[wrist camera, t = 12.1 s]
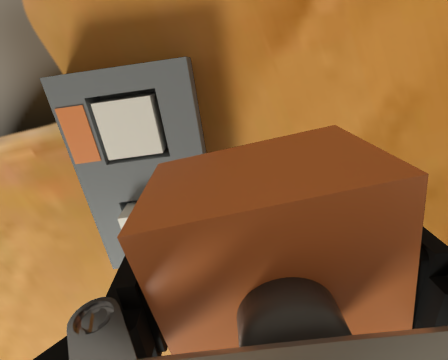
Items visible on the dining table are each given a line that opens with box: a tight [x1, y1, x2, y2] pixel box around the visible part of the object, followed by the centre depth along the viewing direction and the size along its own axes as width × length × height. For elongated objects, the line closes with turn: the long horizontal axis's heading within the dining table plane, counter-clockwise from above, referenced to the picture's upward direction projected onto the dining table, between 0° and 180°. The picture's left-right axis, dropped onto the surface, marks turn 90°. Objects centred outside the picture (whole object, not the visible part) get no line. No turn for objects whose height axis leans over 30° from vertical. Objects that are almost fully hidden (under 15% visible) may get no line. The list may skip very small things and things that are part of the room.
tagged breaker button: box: [91, 92, 168, 160], centre depth 24 cm, size 5×5×3 cm
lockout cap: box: [117, 125, 428, 355], centre depth 9 cm, size 7×7×6 cm
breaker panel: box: [40, 57, 206, 269], centre depth 27 cm, size 12×20×4 cm, turn 8°
